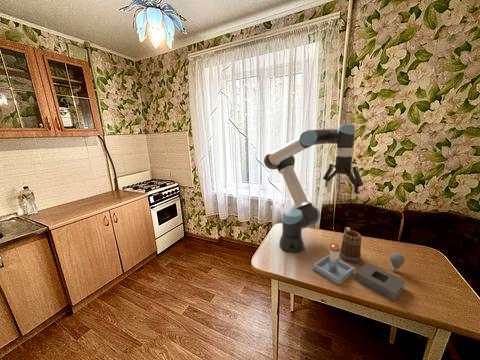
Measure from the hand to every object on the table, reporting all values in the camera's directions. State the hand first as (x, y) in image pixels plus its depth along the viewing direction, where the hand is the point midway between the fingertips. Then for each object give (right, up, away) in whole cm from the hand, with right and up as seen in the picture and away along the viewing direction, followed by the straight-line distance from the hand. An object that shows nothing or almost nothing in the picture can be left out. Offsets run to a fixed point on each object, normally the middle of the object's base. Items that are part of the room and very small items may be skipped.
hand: (340, 195), depth 105 cm
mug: (+9, -35, +9) cm, 38 cm away
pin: (-6, -38, -4) cm, 39 cm away
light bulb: (+25, -38, -5) cm, 46 cm away
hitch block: (+11, -40, -13) cm, 44 cm away
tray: (-6, -39, -4) cm, 39 cm away
